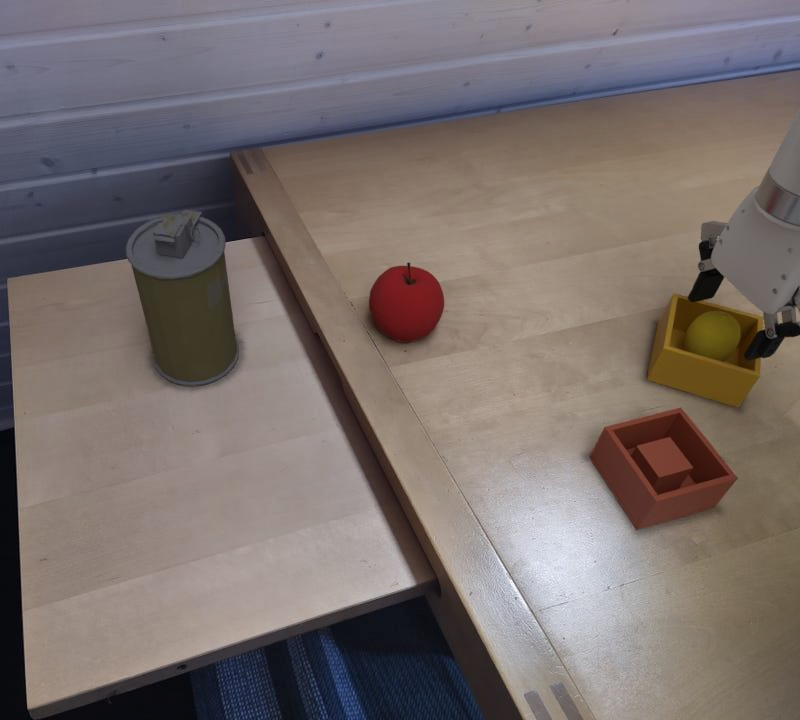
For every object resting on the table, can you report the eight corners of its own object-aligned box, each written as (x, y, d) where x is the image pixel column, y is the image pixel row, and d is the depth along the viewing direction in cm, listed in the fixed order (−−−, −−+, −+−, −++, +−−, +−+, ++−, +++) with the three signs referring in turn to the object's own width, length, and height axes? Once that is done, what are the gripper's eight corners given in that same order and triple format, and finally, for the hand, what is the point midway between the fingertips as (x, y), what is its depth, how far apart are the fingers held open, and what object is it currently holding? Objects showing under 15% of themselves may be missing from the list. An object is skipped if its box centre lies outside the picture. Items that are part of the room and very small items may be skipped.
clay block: (678, 488, 74) (693, 467, 71) (645, 498, 74) (659, 477, 71) (656, 458, 77) (669, 436, 74) (623, 467, 76) (636, 445, 73)
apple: (355, 338, 90) (358, 279, 82) (383, 294, 95) (388, 235, 88) (424, 362, 87) (434, 303, 79) (449, 316, 92) (460, 256, 85)
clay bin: (714, 507, 73) (738, 478, 69) (636, 530, 72) (656, 501, 68) (662, 437, 79) (681, 406, 75) (589, 457, 78) (604, 426, 73)
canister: (223, 393, 84) (202, 263, 69) (140, 378, 85) (103, 247, 70) (250, 329, 91) (237, 198, 76) (173, 316, 92) (145, 185, 77)
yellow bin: (737, 407, 82) (760, 376, 78) (646, 379, 85) (663, 348, 81) (742, 349, 88) (763, 316, 84) (657, 324, 91) (673, 292, 87)
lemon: (675, 374, 85) (702, 327, 79) (671, 341, 88) (697, 294, 82) (725, 383, 84) (755, 336, 78) (719, 349, 87) (748, 302, 82)
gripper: (909, 243, 62) (811, 374, 75) (771, 145, 74) (706, 272, 86) (839, 259, 61) (751, 389, 74) (710, 156, 72) (652, 284, 85)
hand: (727, 326), depth 80 cm, fingers open, 9 cm apart
